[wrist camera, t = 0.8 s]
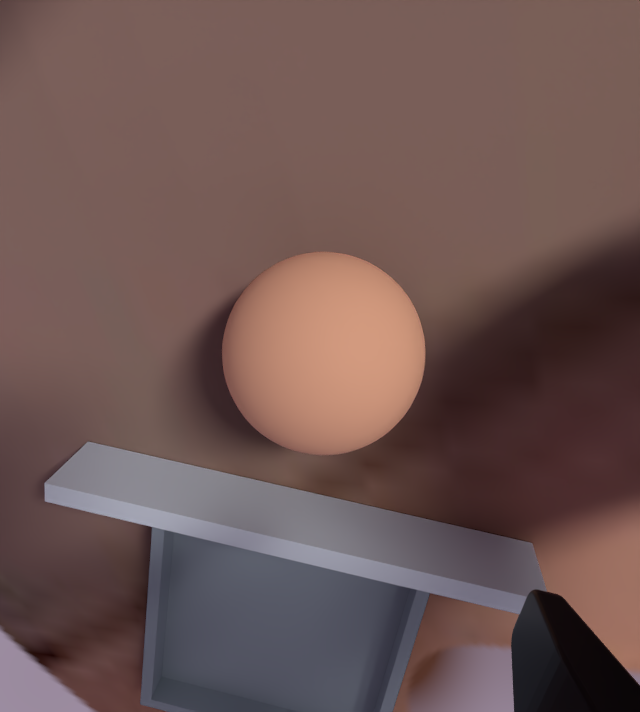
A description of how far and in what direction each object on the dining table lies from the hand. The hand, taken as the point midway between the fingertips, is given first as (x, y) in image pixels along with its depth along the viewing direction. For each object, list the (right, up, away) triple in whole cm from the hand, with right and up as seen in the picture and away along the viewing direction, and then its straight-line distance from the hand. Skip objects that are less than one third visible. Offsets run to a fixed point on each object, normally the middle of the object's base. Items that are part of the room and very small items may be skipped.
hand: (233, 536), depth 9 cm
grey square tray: (0, -9, +16) cm, 19 cm away
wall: (+1, -3, +14) cm, 14 cm away
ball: (+2, +4, +11) cm, 12 cm away
